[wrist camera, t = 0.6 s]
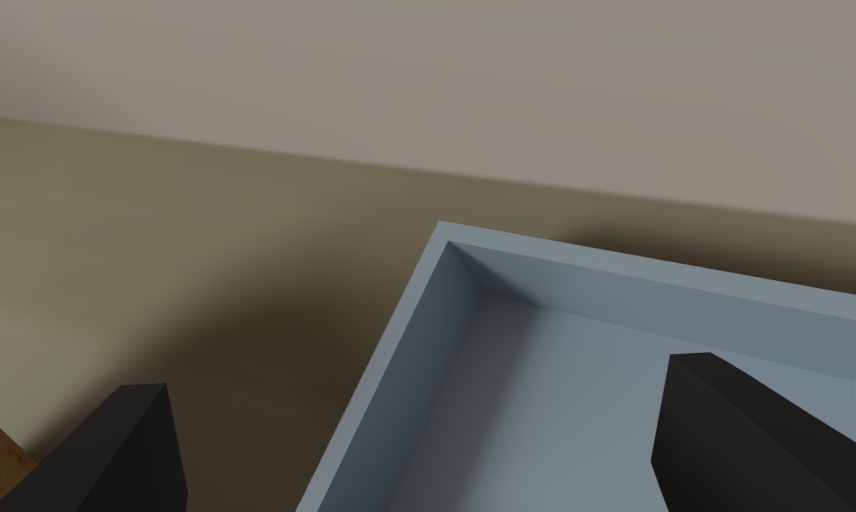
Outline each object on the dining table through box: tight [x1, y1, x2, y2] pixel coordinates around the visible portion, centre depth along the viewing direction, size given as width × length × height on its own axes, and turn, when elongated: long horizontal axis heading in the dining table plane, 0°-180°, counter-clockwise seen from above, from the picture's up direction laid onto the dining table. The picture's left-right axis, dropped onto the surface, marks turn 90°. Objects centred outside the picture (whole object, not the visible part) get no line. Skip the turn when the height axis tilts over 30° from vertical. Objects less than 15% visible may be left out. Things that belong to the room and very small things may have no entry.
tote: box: [295, 220, 856, 512], centre depth 23 cm, size 18×14×5 cm
